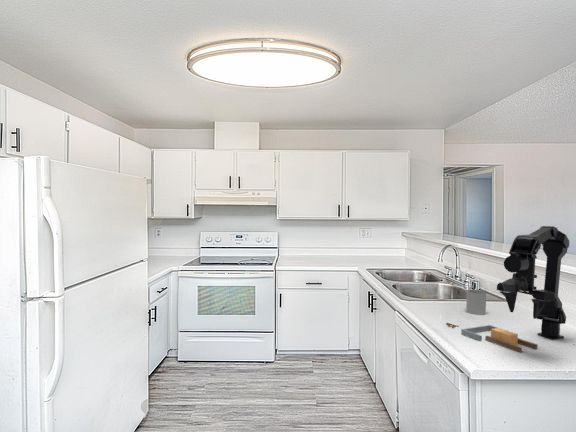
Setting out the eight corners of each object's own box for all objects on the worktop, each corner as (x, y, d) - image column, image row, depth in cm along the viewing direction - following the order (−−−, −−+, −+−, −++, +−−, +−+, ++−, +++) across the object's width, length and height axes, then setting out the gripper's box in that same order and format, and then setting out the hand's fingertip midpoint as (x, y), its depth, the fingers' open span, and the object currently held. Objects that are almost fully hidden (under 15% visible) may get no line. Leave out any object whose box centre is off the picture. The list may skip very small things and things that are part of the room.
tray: (489, 329, 168) (489, 324, 168) (508, 336, 160) (508, 331, 160) (461, 334, 162) (461, 329, 162) (480, 341, 154) (480, 335, 154)
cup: (486, 315, 190) (487, 294, 190) (467, 313, 192) (467, 292, 192) (484, 311, 198) (484, 290, 198) (465, 309, 200) (466, 289, 200)
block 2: (507, 341, 154) (507, 331, 154) (517, 344, 151) (517, 334, 151) (500, 342, 153) (500, 332, 153) (509, 346, 149) (510, 335, 149)
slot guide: (502, 336, 159) (502, 333, 159) (537, 348, 147) (537, 344, 146) (485, 339, 155) (485, 336, 155) (519, 352, 143) (519, 348, 143)
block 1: (498, 338, 158) (498, 327, 158) (507, 341, 154) (507, 330, 154) (490, 339, 156) (491, 329, 156) (499, 342, 153) (500, 332, 153)
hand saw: (408, 315, 190) (408, 314, 190) (415, 314, 192) (415, 312, 192) (452, 329, 169) (452, 328, 169) (460, 327, 172) (460, 326, 172)
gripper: (486, 267, 151) (484, 309, 151) (533, 275, 134) (530, 323, 134) (508, 267, 155) (506, 308, 155) (556, 275, 138) (554, 321, 138)
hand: (522, 315), depth 145 cm, fingers open, 9 cm apart
